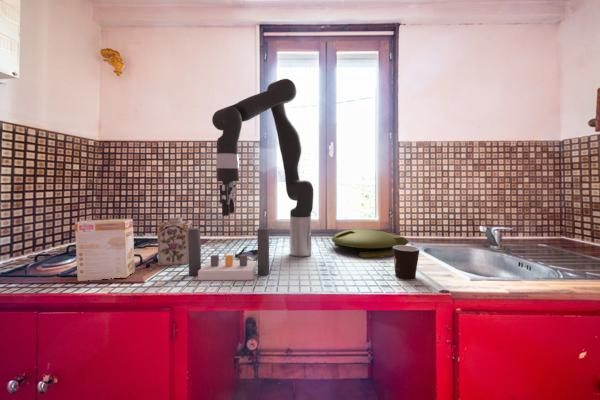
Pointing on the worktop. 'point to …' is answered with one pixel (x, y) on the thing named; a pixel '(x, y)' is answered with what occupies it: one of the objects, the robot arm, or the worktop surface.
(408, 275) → the coffee mug
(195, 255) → the post
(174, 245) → the decorative jar
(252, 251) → the sunglasses
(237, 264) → the switch panel
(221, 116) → the robot arm
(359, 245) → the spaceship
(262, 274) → the post
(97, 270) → the coffeecake box
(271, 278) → the worktop surface
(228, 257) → the middle paddle
